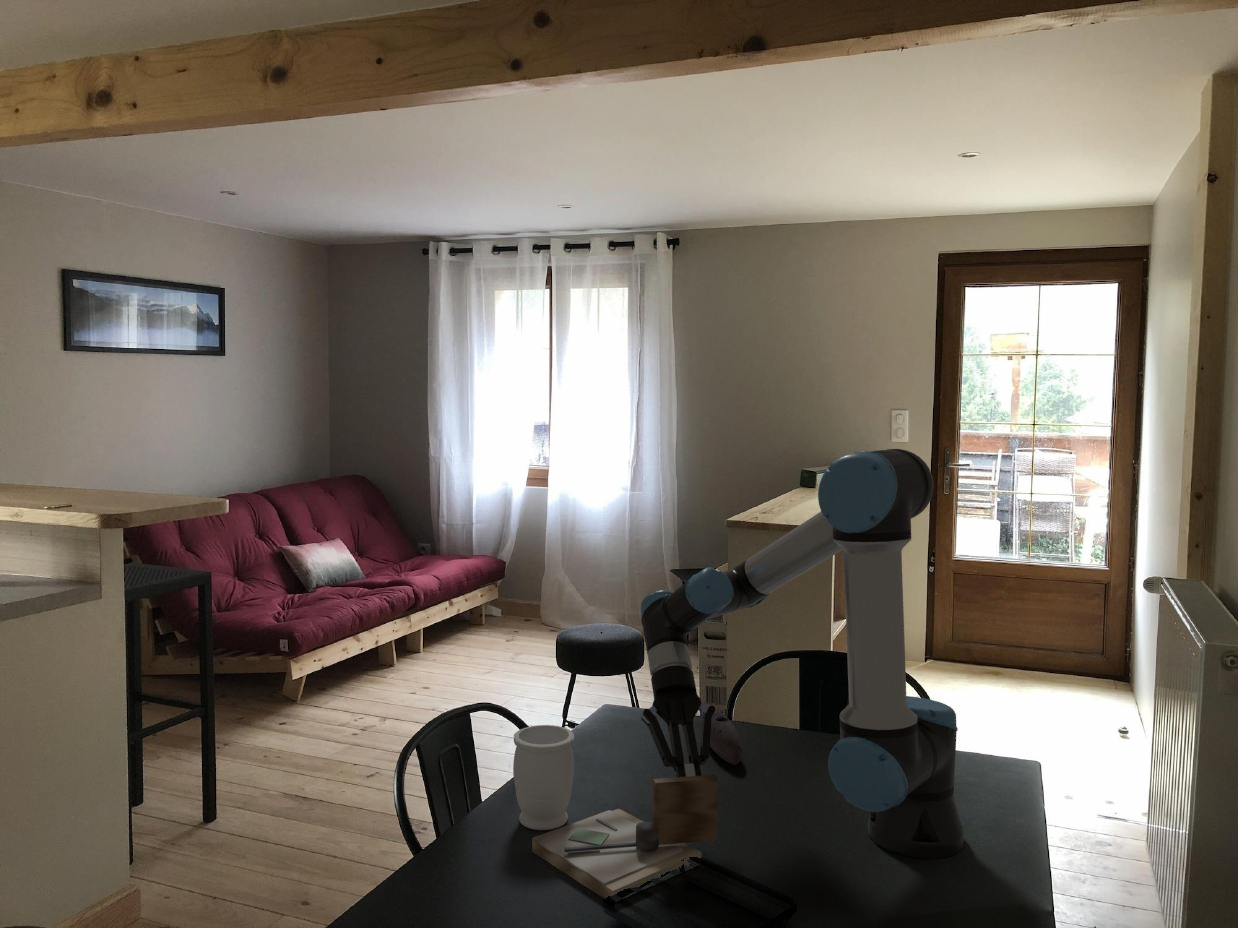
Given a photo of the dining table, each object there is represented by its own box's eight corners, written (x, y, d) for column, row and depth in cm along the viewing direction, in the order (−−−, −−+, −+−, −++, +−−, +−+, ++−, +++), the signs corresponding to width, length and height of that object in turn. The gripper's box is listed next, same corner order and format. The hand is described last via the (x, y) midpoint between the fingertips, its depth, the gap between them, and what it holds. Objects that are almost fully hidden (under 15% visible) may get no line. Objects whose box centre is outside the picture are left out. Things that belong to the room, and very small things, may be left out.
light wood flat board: (701, 864, 149) (701, 848, 149) (612, 904, 137) (613, 887, 137) (618, 819, 164) (618, 805, 164) (532, 851, 152) (532, 836, 152)
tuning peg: (712, 834, 153) (713, 772, 152) (718, 845, 149) (719, 781, 149) (563, 846, 149) (563, 781, 148) (566, 857, 145) (566, 791, 144)
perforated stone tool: (749, 770, 186) (750, 735, 185) (723, 772, 185) (724, 737, 184) (726, 742, 200) (726, 709, 200) (702, 743, 199) (702, 711, 199)
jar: (577, 832, 159) (577, 744, 158) (515, 836, 157) (515, 747, 156) (570, 804, 170) (570, 722, 168) (511, 808, 168) (511, 725, 167)
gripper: (703, 682, 172) (728, 811, 157) (632, 685, 170) (650, 817, 155) (711, 661, 167) (738, 794, 152) (638, 664, 165) (658, 799, 150)
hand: (694, 805), depth 154 cm, fingers closed
